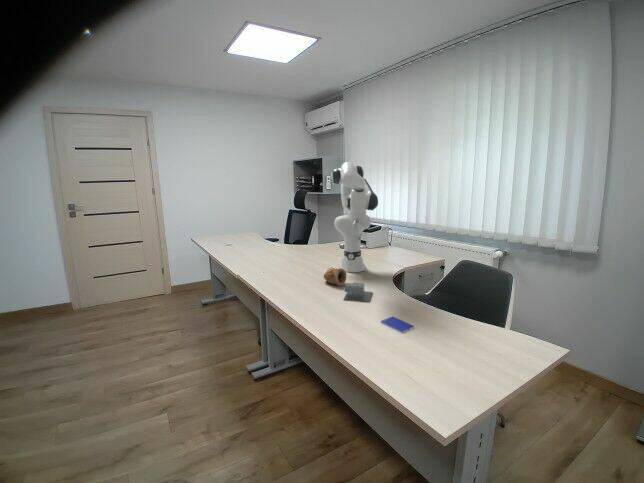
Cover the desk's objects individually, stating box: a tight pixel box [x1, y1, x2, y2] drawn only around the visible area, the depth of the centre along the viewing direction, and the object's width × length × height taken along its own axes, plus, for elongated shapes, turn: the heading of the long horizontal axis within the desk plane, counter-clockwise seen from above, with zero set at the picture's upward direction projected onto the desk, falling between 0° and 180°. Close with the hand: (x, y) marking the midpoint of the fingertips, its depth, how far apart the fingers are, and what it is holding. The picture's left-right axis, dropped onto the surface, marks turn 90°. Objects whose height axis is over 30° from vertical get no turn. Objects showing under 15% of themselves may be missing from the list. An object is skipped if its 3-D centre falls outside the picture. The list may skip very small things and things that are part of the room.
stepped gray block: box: [344, 282, 365, 298], centre depth 181 cm, size 10×6×6 cm, turn 75°
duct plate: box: [343, 290, 373, 303], centre depth 181 cm, size 14×14×4 cm
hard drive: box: [380, 316, 415, 334], centre depth 146 cm, size 2×8×12 cm
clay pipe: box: [323, 267, 347, 287], centre depth 205 cm, size 19×11×15 cm
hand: (357, 241), depth 185 cm, fingers open, 8 cm apart
